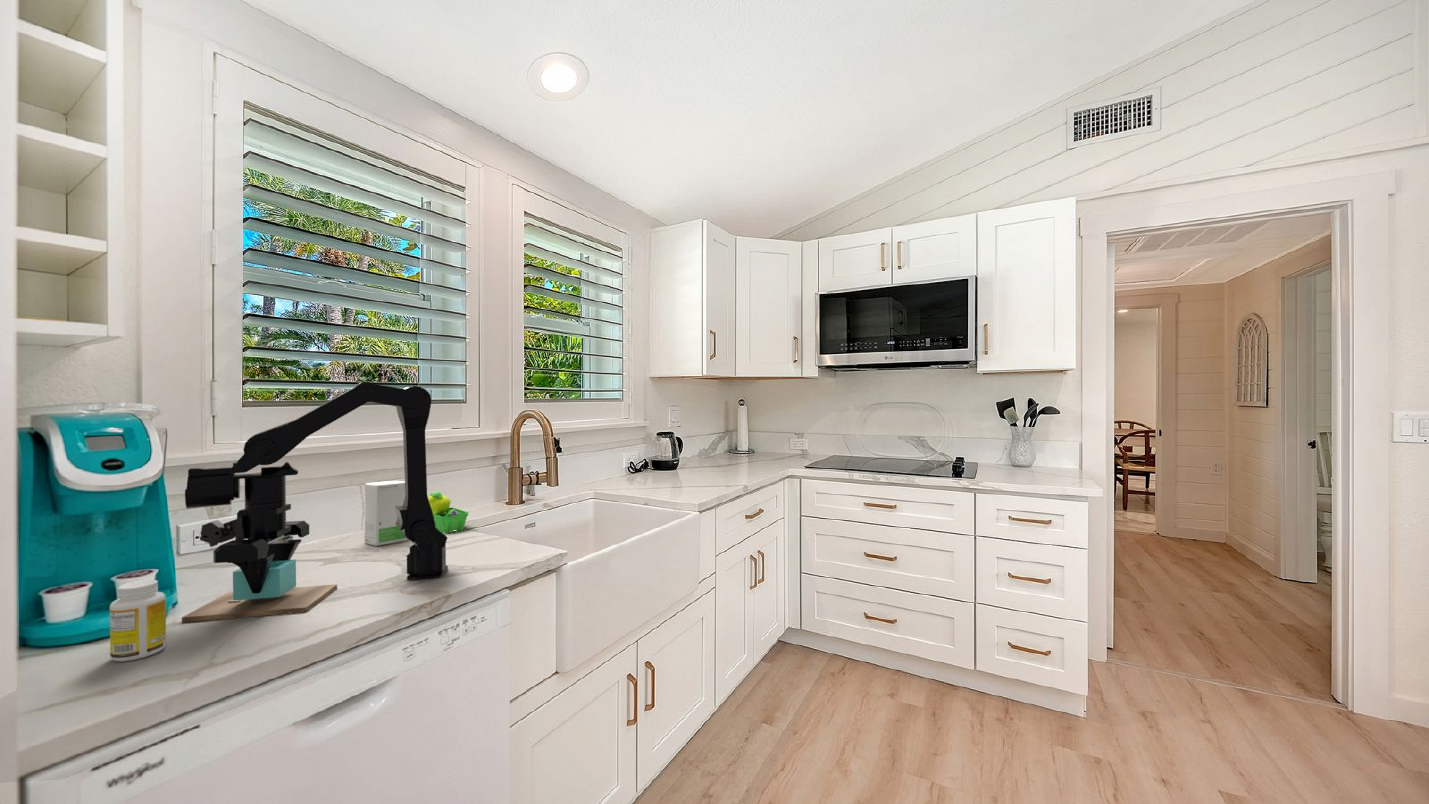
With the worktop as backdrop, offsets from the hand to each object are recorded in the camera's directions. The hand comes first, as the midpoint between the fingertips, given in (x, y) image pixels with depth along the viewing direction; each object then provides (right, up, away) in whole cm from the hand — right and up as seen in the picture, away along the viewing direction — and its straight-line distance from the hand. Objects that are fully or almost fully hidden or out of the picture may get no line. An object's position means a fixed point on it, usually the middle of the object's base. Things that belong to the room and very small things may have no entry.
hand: (266, 587), depth 97 cm
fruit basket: (+4, -3, +56) cm, 56 cm away
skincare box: (-5, -3, +43) cm, 44 cm away
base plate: (0, -3, 0) cm, 3 cm away
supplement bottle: (-3, -3, -19) cm, 20 cm away
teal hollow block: (0, -1, 0) cm, 1 cm away
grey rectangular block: (0, -3, 0) cm, 3 cm away
